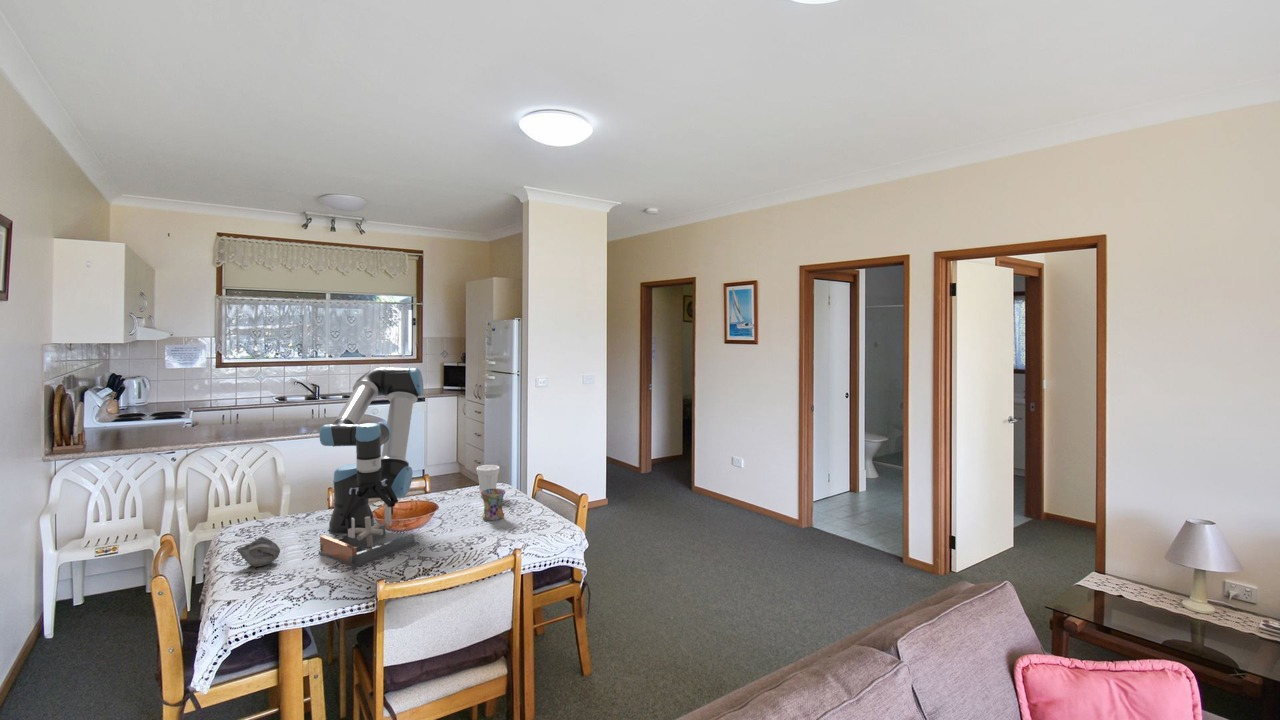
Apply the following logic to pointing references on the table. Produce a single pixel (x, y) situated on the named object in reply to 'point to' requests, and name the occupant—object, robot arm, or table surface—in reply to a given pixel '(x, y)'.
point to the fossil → (260, 552)
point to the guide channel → (364, 547)
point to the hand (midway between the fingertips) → (370, 530)
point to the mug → (493, 503)
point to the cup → (487, 476)
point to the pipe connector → (368, 531)
